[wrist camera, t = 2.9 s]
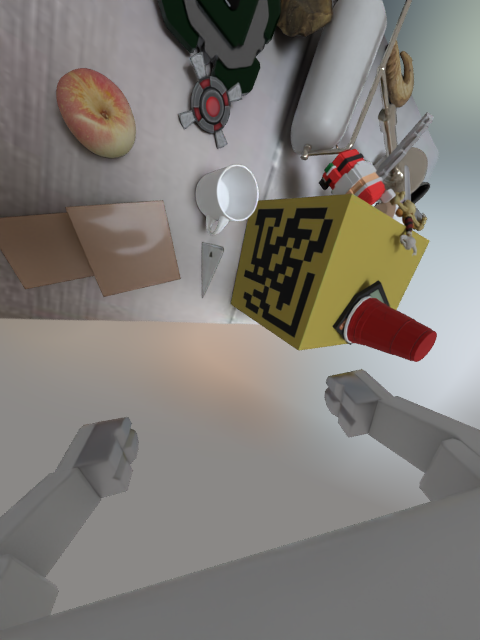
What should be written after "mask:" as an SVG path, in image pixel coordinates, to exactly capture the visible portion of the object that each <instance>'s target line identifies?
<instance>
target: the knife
mask: <svg viewBox="0 0 480 640" xmlns="http://www.w3.org/2000/svg"><path fill="white" fill-rule="evenodd" d="M432 119H433V116H432V115H431V114H429V113H426V114H425V115H424V116H423V117H422V119H421V120H420V121H419V122H418V123H417V124H416V125H415V127H414V128H413V129H412V130H411V131H410V132H409V133H408V135H407V136H406V137H405V138H404V139H403V140H402V141H401V143H400V144H399V145H398V146H397V147H396V148H395V149H394V151H393V152H392V153H391V154H390V155H389V156H388V157H387V159H386V160H385V161H384V162H383V163H382V164H381V165H380V167H379V168H378V169H377V171H376V174H377V175H378V176H379V177H381V178H382V181H383V180H384V179H385V178H386V177H387V176H388V173H389V172H390V171H391V170H392V169H393V168H394V167H395V166H396V165H397V164H398V163H399V161H400V160H401V159H402V158H403V157H404V156H405V155H406V153H407V151H408V150H409V149H410V148H411V147H412V146H413V145H414V144H415V143H416V142H417V141H418V140H419V139H420V136H421V135H422V134H423V133H424V132H425V131H426V130H427V128H428V126H429V125H430V123H432Z"/></svg>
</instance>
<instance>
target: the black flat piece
mask: <svg viewBox="0 0 480 640" xmlns="http://www.w3.org/2000/svg"><path fill="white" fill-rule="evenodd" d="M158 3H159V7H160V10H161V14H162V17H163V21H164V23H165V25H166V27H167V29H168V30H169V31H170V32H171V33H172V34H173V35H174V36H175V37H176V39H177V40H178V41H179V42H180V43H181V44H182V45H183V46H184V47H185V48H186V49H187V51H188V52H189V53H193V52H194V50H195V49H196V46H198V47H199V48H200V53H201V52H203V57H204V63H205V64H206V65H208V64H209V63H210V62H212V63H213V64H214V67H213V70H212V73H211V74H212V77H215V78H217V79H218V80H219V81H221V82H222V83H223V85H224V86H225V88H226V89H227V91H228V90H230V89H231V88H232V87H233V86H234V85H236V84H237V83H238V82H239V85H240V88H241V93H242V96H244V95H247V94H248V93H249V92H250V91H251V90H252V89H253V86H254V83H255V80H256V78H257V75H258V72H259V70H260V63H259V61H258V60H257V58H256V56H257V55H258V54H259V53H260V52H261V51H262V50H263V48H264V45H265V44H268V43H269V42H270V41H271V40H272V37H273V34H274V32H275V29H276V26H277V23H278V21H279V18H280V14H281V4H280V0H158Z"/></svg>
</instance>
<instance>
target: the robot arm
mask: <svg viewBox="0 0 480 640" xmlns="http://www.w3.org/2000/svg"><path fill="white" fill-rule="evenodd" d="M326 384H327V385H328V388H327V389H326V391H325V401H326V405H327V407H328V408H329V410H330V412H331V413H332V414H333V415H335V416H337V417H338V423H339V425H340V426H341V428H342V429H343V431H344V432H345V433H346V435H347V436H348V437H353V436H358V435H362V434H368V433H369V435H370V436H371V437H373V438H374V439H376V440H377V441H379V442H380V443H382V444H383V445H385V446H386V447H387V448H389V449H390V450H392V451H393V452H395V453H396V454H398V455H399V456H401V457H402V458H404V459H405V460H407V461H408V462H409V463H411V464H412V465H414V466H415V467H417V468H418V469H420V470H421V471H423V472H424V473H425V474H424V476H423V478H422V479H421V481H420V489H421V490H422V491H423V492H424V493H425V495H426V496H427V497H428V498H429V500H430V501H431V502H428V503H425V504H421V505H418V506H415V507H411V508H408V509H405V510H401V511H398V512H394V513H391V514H388V515H385V516H381V517H378V518H375V519H371V520H368V521H364V522H361V523H358V524H354V525H351V526H348V527H344V528H341V529H338V530H334V531H331V532H327V533H324V534H321V535H317V536H314V537H311V538H307V539H304V540H301V541H297V542H294V543H291V544H287V545H284V546H281V547H277V548H274V549H271V550H267V551H264V552H260V553H258V554H254V555H250V556H247V557H244V558H241V559H237V560H234V561H231V562H227V563H224V564H220V565H217V566H214V567H210V568H207V569H204V570H201V571H197V572H193V573H190V574H187V575H184V576H180V577H177V578H174V579H170V580H167V581H163V582H160V583H157V584H153V585H150V586H147V587H143V588H140V589H137V590H133V591H130V592H127V593H123V594H120V595H116V596H113V597H110V598H107V599H103V600H100V601H97V602H93V603H90V604H86V605H83V606H80V607H76V608H73V609H70V610H67V611H63V612H60V613H56V614H53V615H50V613H51V611H52V608H53V605H54V603H55V600H56V597H57V594H58V592H59V591H58V588H57V586H56V585H55V584H53V583H52V582H50V581H49V580H47V579H46V578H45V577H46V575H47V574H48V573H49V571H50V570H51V569H52V567H53V566H54V565H55V563H56V562H57V560H58V559H59V558H60V556H61V555H62V553H63V552H64V551H65V549H66V548H67V547H68V545H69V544H70V542H71V541H72V540H73V538H74V537H75V535H76V534H77V532H78V531H79V530H80V529H81V527H82V526H83V524H84V523H85V522H86V520H87V519H88V517H89V516H90V515H91V513H92V512H93V511H94V509H95V508H96V506H97V505H98V503H99V502H100V501H101V498H103V497H107V496H110V495H115V494H118V493H122V492H126V491H127V490H128V486H129V482H130V479H131V475H132V472H133V470H132V468H131V466H130V464H131V463H132V462H133V461H134V460H135V458H136V456H137V452H138V437H137V433H136V431H134V430H132V429H131V424H132V423H131V421H130V419H129V418H128V417H125V418H119V419H113V420H108V421H102V422H97V423H92V424H86V425H83V426H82V427H81V428H80V429H79V431H78V432H77V434H76V436H75V438H74V439H73V441H72V443H71V445H70V446H69V448H68V450H67V451H66V453H65V455H64V457H63V458H62V460H61V462H60V464H59V465H58V467H57V469H56V471H55V472H54V473H50V474H48V475H47V476H46V477H45V478H44V479H43V480H42V481H41V482H39V483H38V484H37V485H36V486H35V487H34V488H33V489H32V490H30V491H29V492H28V493H27V494H26V495H25V496H24V497H23V498H22V499H21V500H19V501H18V502H17V503H16V504H15V505H14V506H13V507H11V508H10V509H9V510H8V511H7V512H6V513H5V514H4V515H2V516H1V517H0V640H480V430H478V429H476V428H473V427H471V426H469V425H466V424H463V423H461V422H459V421H456V420H454V419H452V418H449V417H447V416H444V415H442V414H440V413H437V412H434V411H432V410H430V409H427V408H425V407H423V406H420V405H418V404H415V403H413V402H410V401H408V400H406V399H403V398H401V397H398V396H395V397H393V396H392V395H391V394H390V393H389V392H388V391H387V390H386V389H385V388H384V387H382V386H381V385H380V384H379V383H378V382H377V381H376V380H375V379H373V378H372V377H371V376H370V375H369V374H368V373H367V372H366V371H364V370H362V369H361V370H356V371H351V372H347V373H342V374H337V375H332V376H328V378H327V380H326Z"/></svg>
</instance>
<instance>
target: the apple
mask: <svg viewBox="0 0 480 640" xmlns="http://www.w3.org/2000/svg"><path fill="white" fill-rule="evenodd" d="M56 96H57V103H58V107H59V110H60V112H61V115H62V117H63V119H64V121H65V123H66V124H67V126H68V128H69V129H70V131H71V132H72V133H73V134H74V136H75V137H76V138H77V139H78V140H79V141H80V143H81V144H83V145H84V146H85V147H86V148H87V149H88V150H90V151H91V152H93V153H95V154H97V155H99V156H102V157H107V158H116V157H121V156H123V155H125V154H127V153H128V152H129V151H130V149H131V148H132V146H133V144H134V141H135V135H136V126H135V121H134V117H133V114H132V111H131V108H130V106H129V103H128V101H127V99H126V97H125V96H124V94H123V93H122V91H121V90H120V89H119V88H118V87H117V86H116V85H115V84H114V83H113V82H112V81H111V80H109V79H108V78H107V77H105V76H104V75H102V74H100V73H98V72H96V71H94V70H91V69H87V68H80V69H75V70H72V71H70V72H68V73H67V74H65V75H64V76H63V77H62V78H61V79H60V80H59V82H58V85H57V90H56Z"/></svg>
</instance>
